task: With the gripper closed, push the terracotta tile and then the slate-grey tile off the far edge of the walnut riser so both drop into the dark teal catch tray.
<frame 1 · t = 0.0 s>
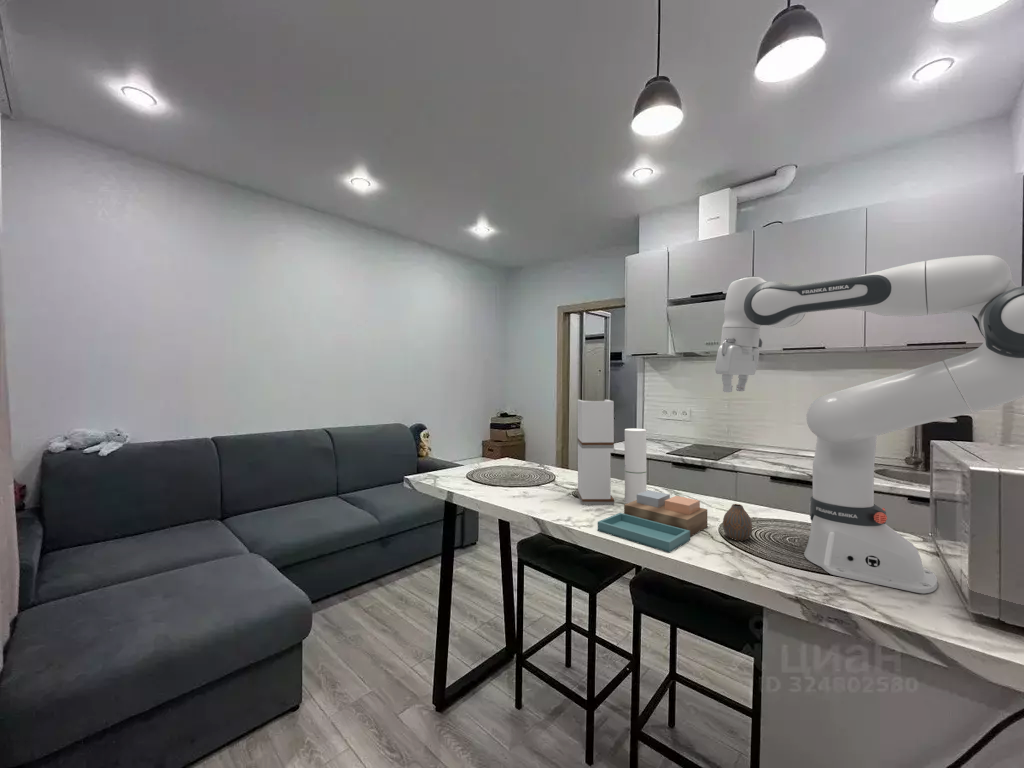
hand: (734, 391, 113), 39 cm above the counter, tool pointing down, fingers open, 8 cm apart
slate tile: (653, 502, 127), point 5 cm above the counter, touching walnut riser
terracotta tile: (682, 509, 121), point 5 cm above the counter, touching walnut riser
walnut riser: (664, 524, 123), on the counter
vase: (737, 538, 112), on the counter
white stacked pillar: (595, 500, 148), on the counter
cylindrical container: (635, 502, 145), on the counter
catch tray: (642, 535, 114), on the counter
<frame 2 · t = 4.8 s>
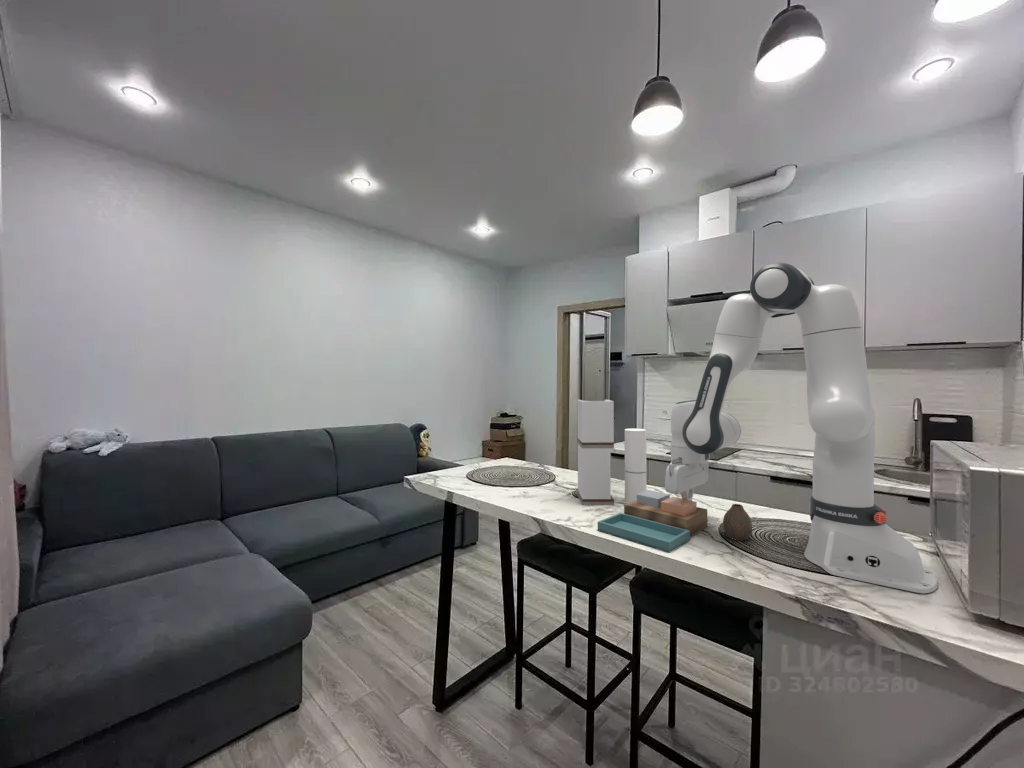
hand: (687, 503, 123), 6 cm above the counter, tool pointing down, fingers closed
terracotta tile: (678, 510, 120), point 5 cm above the counter, touching walnut riser
everything else where it was.
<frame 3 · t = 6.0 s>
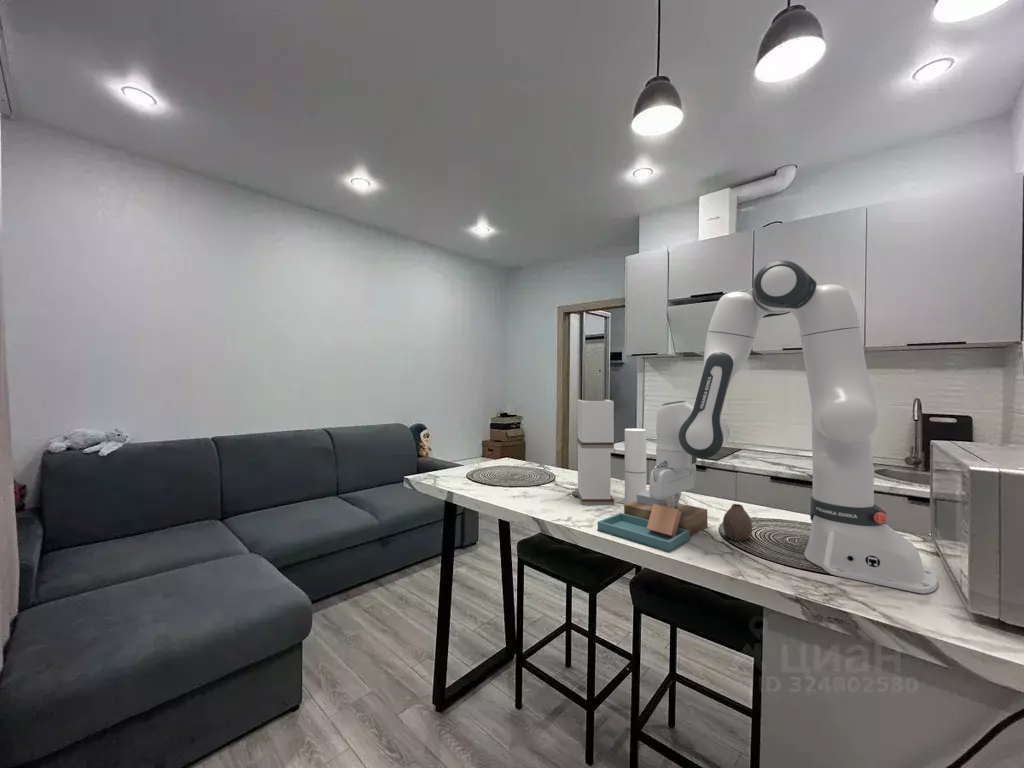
hand: (673, 509, 117), 6 cm above the counter, tool pointing down, fingers closed
terracotta tile: (665, 522, 114), point 3 cm above the counter, tilted 58°, touching catch tray
everything else where it was.
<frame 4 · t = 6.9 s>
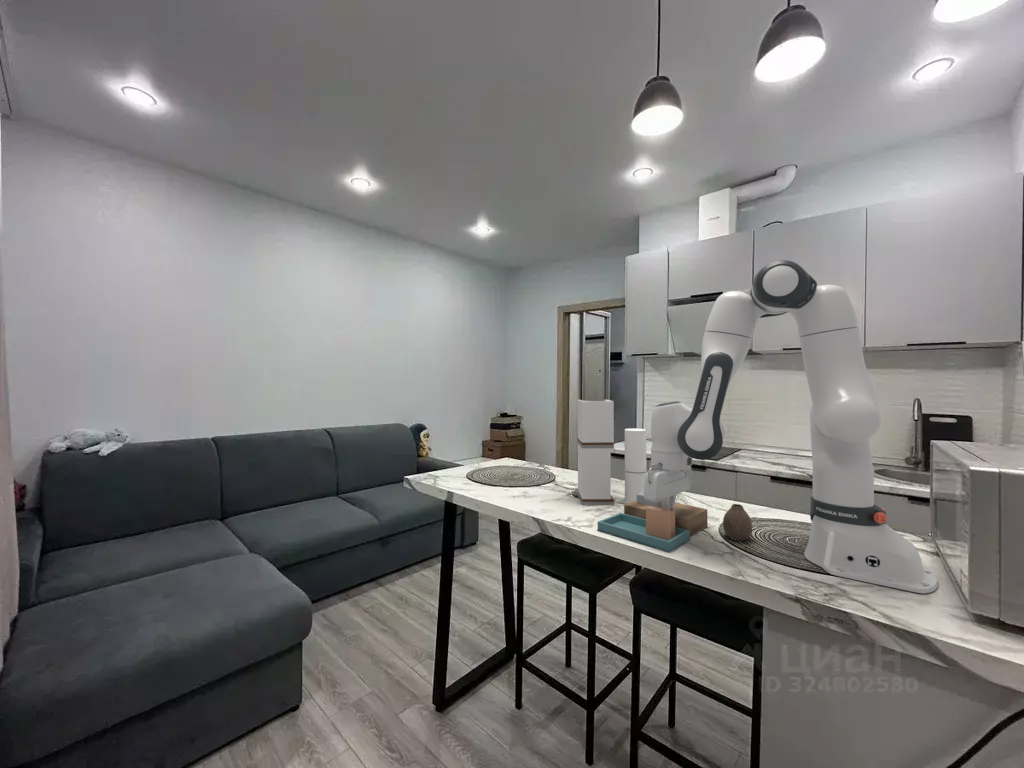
hand: (668, 511, 115), 6 cm above the counter, tool pointing down, fingers closed
terracotta tile: (662, 521, 113), point 4 cm above the counter, tilted 89°, touching catch tray
everything else where it was.
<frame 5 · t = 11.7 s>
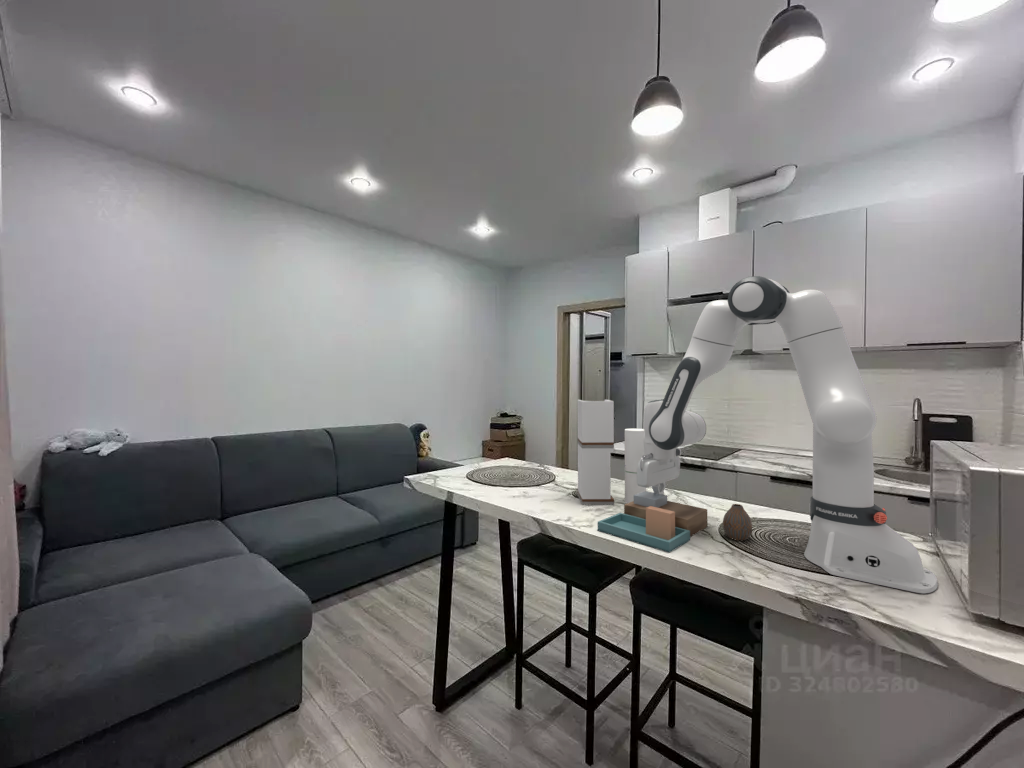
hand: (658, 496, 130), 6 cm above the counter, tool pointing down, fingers closed
slate tile: (650, 503, 126), point 5 cm above the counter, touching gripper
everything else where it was.
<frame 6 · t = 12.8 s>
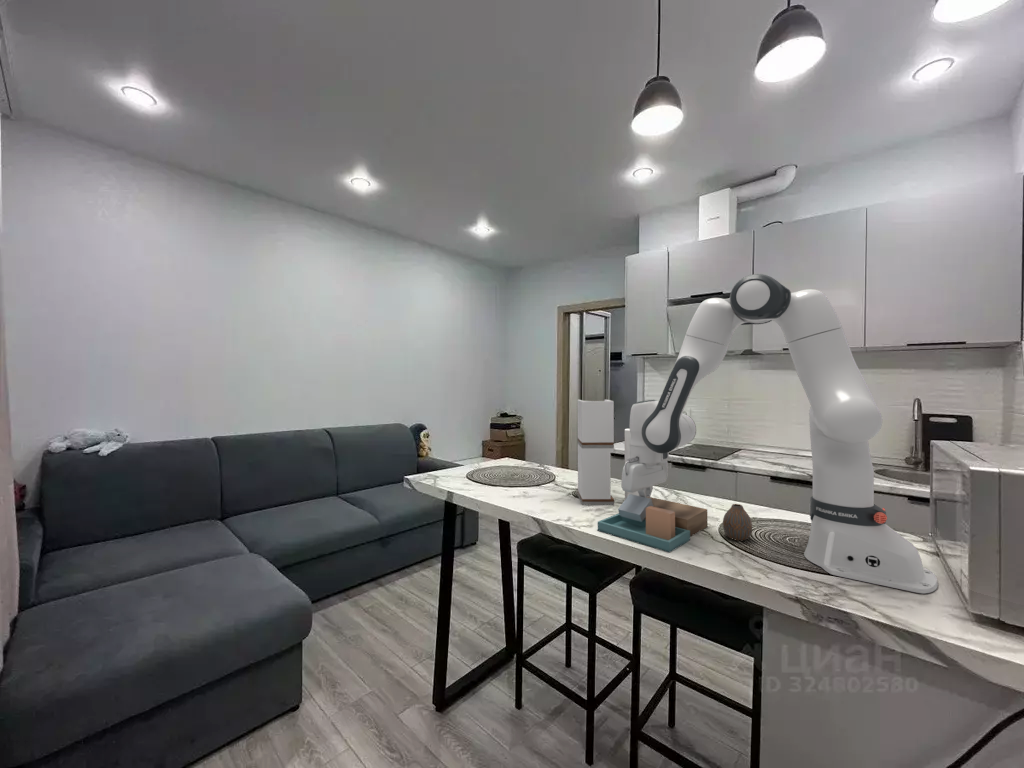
hand: (645, 501, 124), 6 cm above the counter, tool pointing down, fingers closed
slate tile: (636, 510, 121), point 4 cm above the counter, tilted 27°, touching walnut riser
everything else where it was.
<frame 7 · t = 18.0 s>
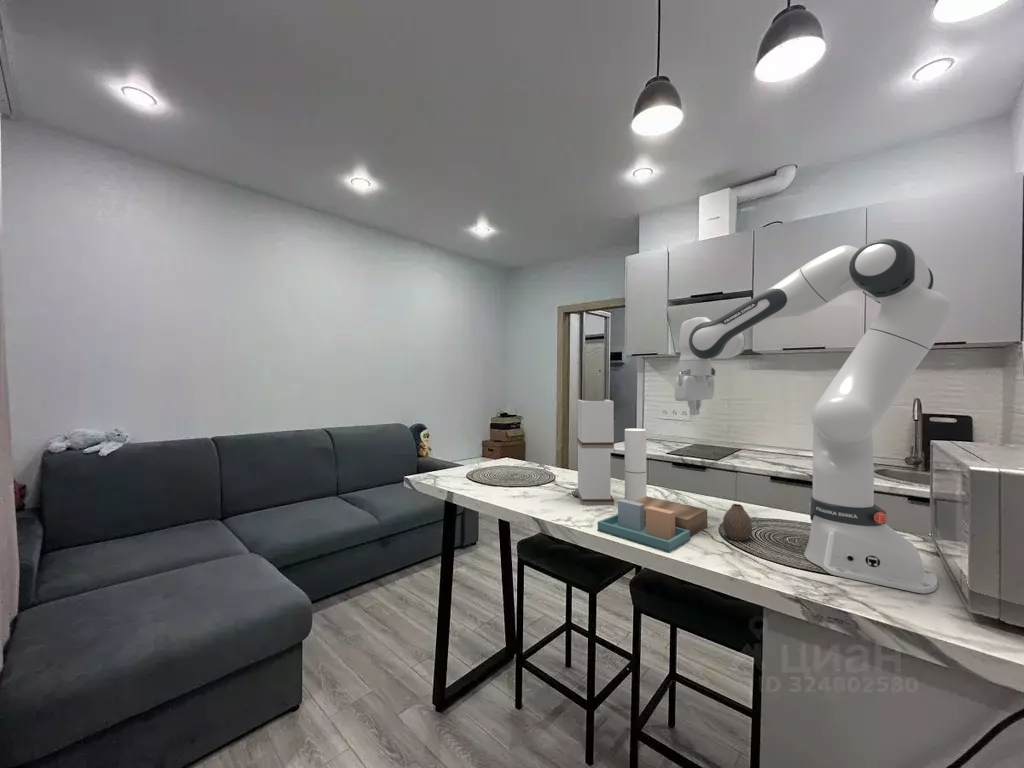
hand: (694, 414, 131), 31 cm above the counter, tool pointing down, fingers closed
slate tile: (633, 513, 120), point 4 cm above the counter, tilted 90°, touching catch tray
everything else where it was.
at the end: terracotta tile inside the target area (5.4 cm from its centre), point 4.0 cm above the counter; slate tile inside the target area (6.1 cm from its centre), point 4.0 cm above the counter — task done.
